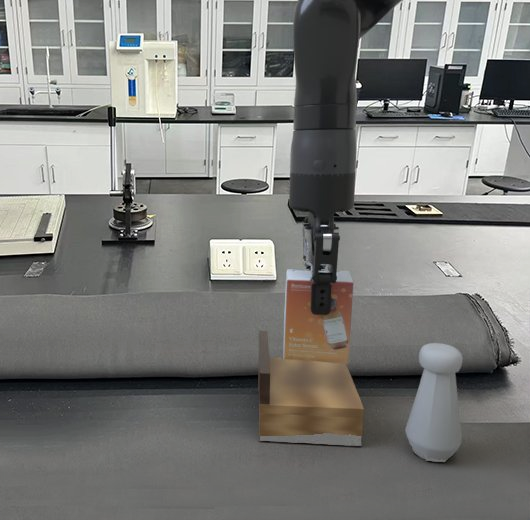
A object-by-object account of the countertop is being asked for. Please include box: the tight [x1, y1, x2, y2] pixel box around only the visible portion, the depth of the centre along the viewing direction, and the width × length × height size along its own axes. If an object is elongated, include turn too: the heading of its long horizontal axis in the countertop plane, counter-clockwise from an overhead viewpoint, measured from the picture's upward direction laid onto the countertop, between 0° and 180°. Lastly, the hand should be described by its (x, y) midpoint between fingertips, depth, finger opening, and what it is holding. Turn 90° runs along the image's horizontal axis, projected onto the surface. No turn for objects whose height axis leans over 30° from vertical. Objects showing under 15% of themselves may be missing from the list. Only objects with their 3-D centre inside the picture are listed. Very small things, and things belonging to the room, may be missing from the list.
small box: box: [282, 268, 354, 365], centre depth 67 cm, size 8×6×10 cm
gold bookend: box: [257, 330, 365, 437], centre depth 69 cm, size 12×14×9 cm
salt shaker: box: [405, 342, 464, 460], centre depth 60 cm, size 6×6×13 cm
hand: (317, 305), depth 66 cm, fingers closed on small box, 5 cm apart
